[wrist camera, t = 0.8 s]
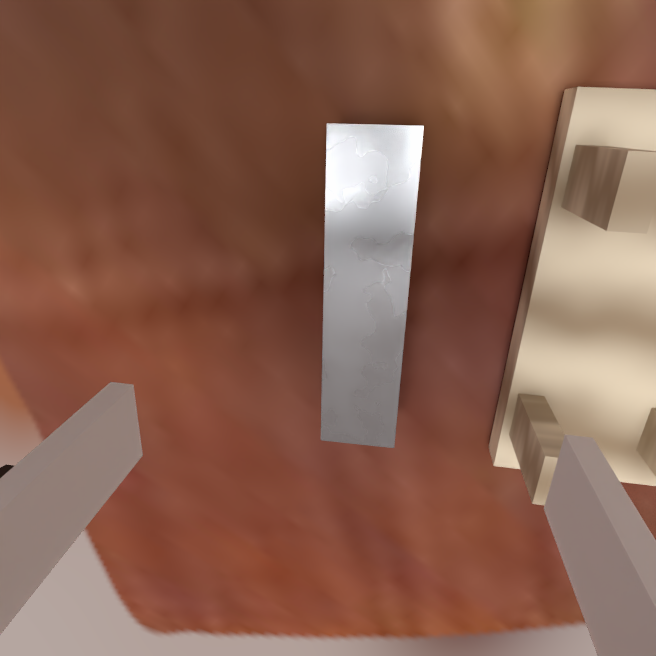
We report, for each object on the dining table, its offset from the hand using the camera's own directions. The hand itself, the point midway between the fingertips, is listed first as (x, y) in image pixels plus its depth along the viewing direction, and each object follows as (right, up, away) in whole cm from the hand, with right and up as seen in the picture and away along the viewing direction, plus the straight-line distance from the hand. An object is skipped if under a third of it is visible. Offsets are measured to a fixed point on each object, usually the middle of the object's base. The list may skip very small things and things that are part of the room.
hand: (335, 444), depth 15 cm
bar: (+2, +7, +15) cm, 17 cm away
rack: (+16, +5, +13) cm, 21 cm away
